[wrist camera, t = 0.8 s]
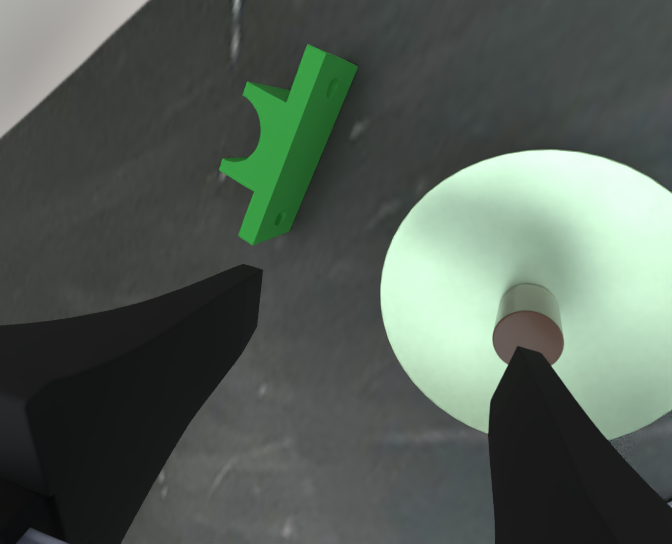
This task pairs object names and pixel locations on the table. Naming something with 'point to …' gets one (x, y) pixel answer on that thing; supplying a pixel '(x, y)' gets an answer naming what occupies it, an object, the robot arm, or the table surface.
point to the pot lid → (537, 285)
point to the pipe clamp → (289, 141)
